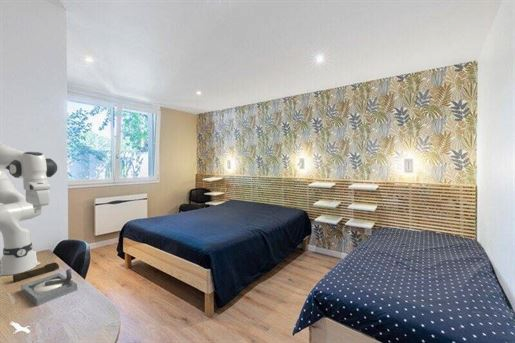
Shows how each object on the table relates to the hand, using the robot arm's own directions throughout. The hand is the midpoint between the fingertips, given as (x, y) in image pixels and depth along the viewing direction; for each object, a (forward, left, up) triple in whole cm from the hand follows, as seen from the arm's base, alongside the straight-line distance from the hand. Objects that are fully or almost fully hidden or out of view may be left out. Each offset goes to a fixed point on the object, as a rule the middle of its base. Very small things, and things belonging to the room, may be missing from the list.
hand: (37, 213), depth 121 cm
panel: (+8, 0, -37) cm, 38 cm away
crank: (+9, +2, -36) cm, 37 cm away
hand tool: (-19, +3, -38) cm, 42 cm away
